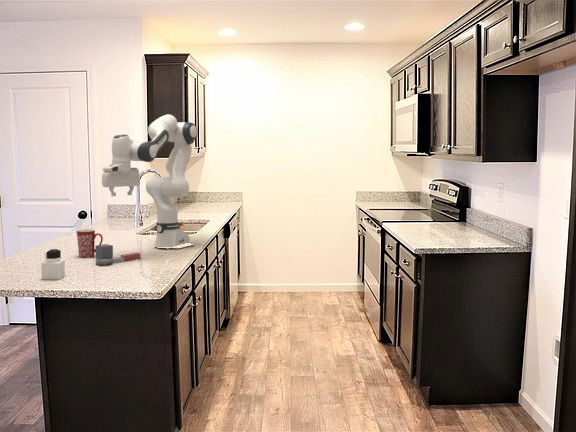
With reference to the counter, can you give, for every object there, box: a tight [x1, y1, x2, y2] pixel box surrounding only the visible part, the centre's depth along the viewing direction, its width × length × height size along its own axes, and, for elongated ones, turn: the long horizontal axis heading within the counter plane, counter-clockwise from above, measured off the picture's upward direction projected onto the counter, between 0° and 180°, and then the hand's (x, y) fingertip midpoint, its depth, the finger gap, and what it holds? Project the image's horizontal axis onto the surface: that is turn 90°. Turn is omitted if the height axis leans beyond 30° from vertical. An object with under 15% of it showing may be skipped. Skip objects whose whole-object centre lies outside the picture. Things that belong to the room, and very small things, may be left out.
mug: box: [75, 228, 104, 259], centre depth 280 cm, size 13×9×14 cm
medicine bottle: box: [40, 248, 66, 281], centre depth 234 cm, size 7×7×12 cm
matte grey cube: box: [94, 243, 114, 260], centre depth 263 cm, size 6×6×6 cm
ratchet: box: [95, 252, 141, 267], centre depth 269 cm, size 23×8×8 cm, turn 142°
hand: (121, 195), depth 277 cm, fingers open, 8 cm apart
